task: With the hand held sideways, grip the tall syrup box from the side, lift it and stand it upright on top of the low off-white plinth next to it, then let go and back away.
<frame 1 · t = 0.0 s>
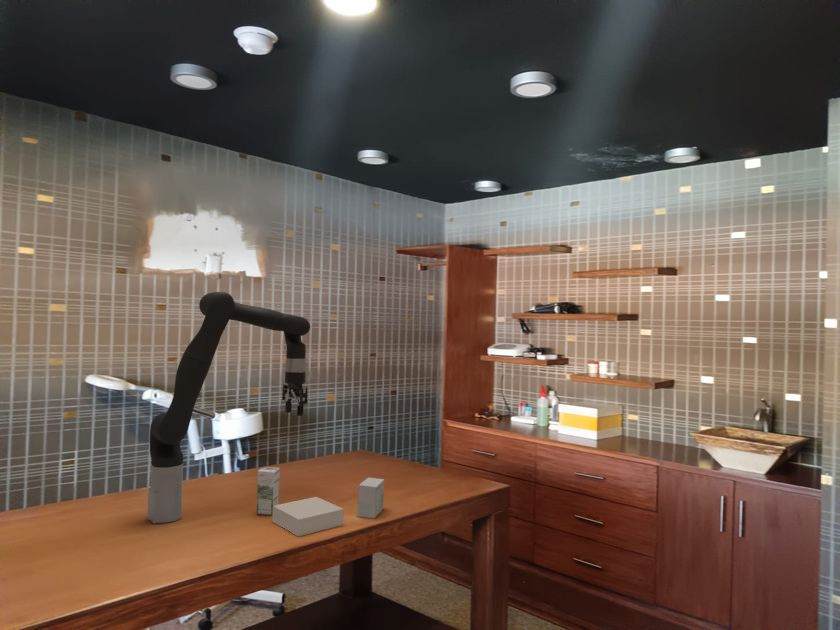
hand: (294, 414, 212), 29 cm above the table, tool pointing down, fingers open, 8 cm apart
syrup box: (267, 513, 189), on the table
plinth: (307, 523, 180), on the table
skincare box: (370, 513, 192), on the table
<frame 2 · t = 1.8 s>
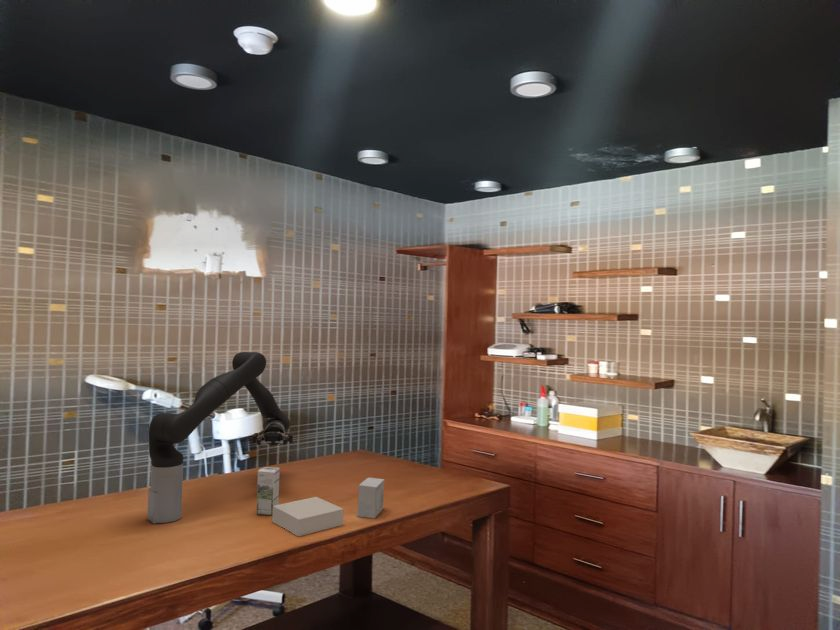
hand: (271, 442, 201), 21 cm above the table, tool horizontal, fingers open, 8 cm apart
nothing on the table moved.
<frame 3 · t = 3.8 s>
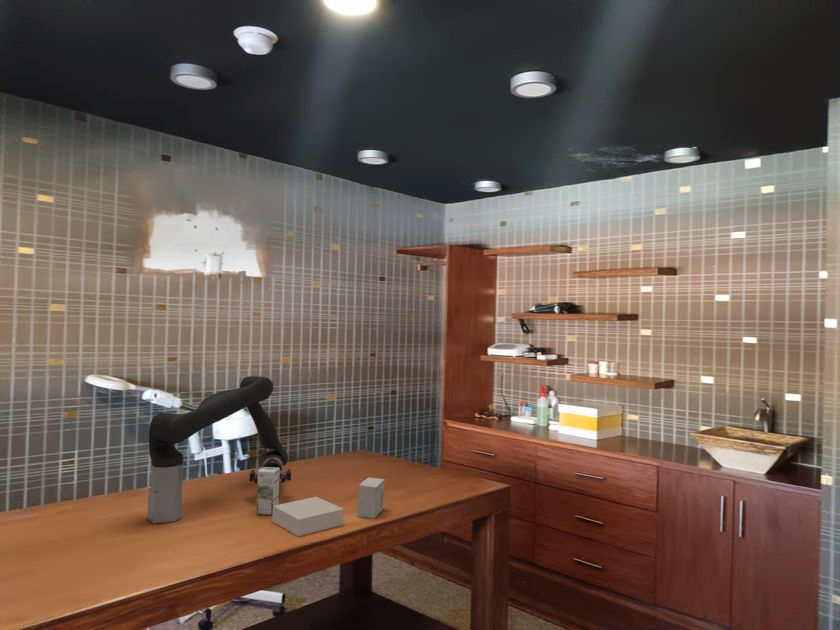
hand: (269, 480, 197), 8 cm above the table, tool horizontal, fingers open, 8 cm apart
nothing on the table moved.
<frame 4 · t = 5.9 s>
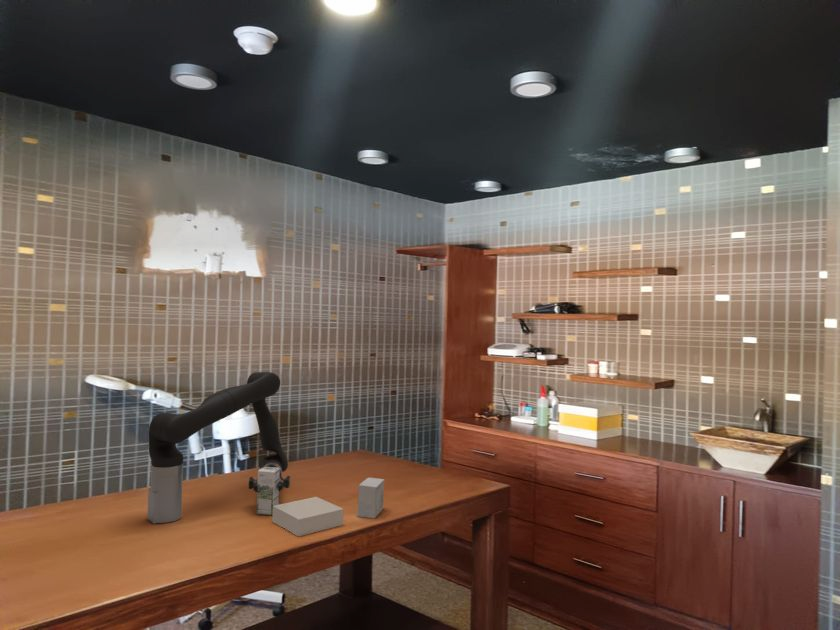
hand: (267, 488, 187), 9 cm above the table, tool horizontal, fingers closed on syrup box, 7 cm apart
syrup box: (267, 513, 189), on the table, touching gripper
everything else where it was.
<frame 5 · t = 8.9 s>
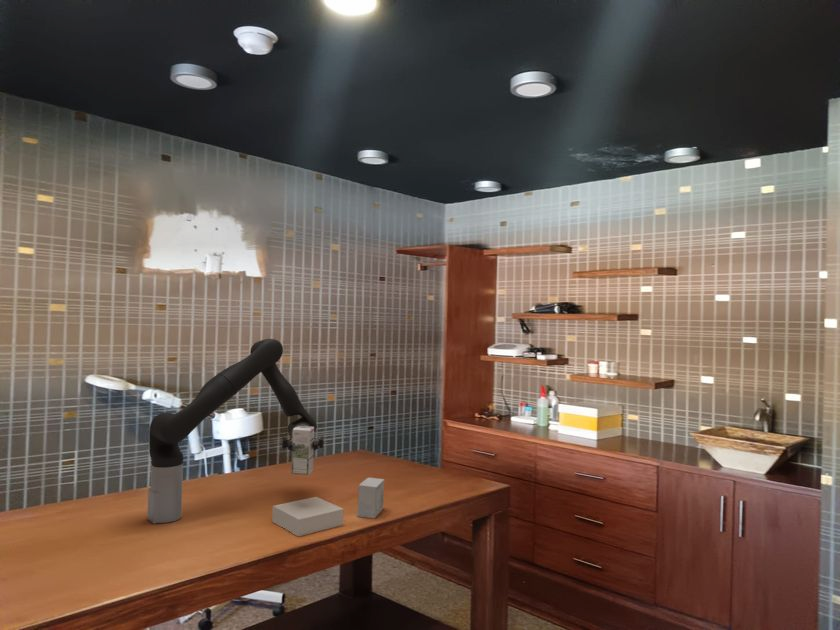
hand: (303, 447, 181), 24 cm above the table, tool horizontal, fingers closed on syrup box, 7 cm apart
syrup box: (302, 473, 183), point 15 cm above the table, touching gripper
everything else where it was.
when the fingers open (15 cm above the table, at t = 12.0 s): syrup box drops 1 cm, resting on plinth.
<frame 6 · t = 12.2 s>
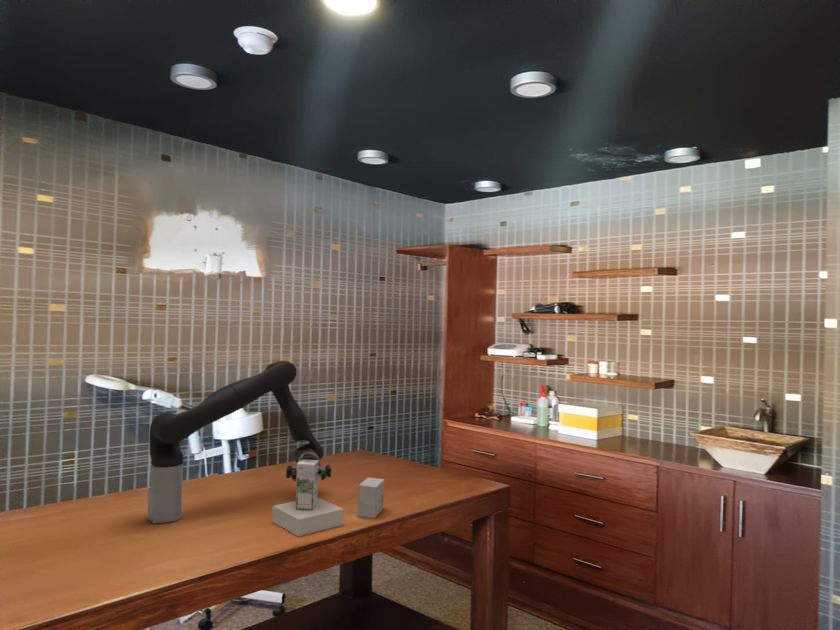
hand: (309, 477, 178), 15 cm above the table, tool horizontal, fingers open, 8 cm apart
syrup box: (306, 507, 180), point 5 cm above the table, touching plinth
everything else where it was.
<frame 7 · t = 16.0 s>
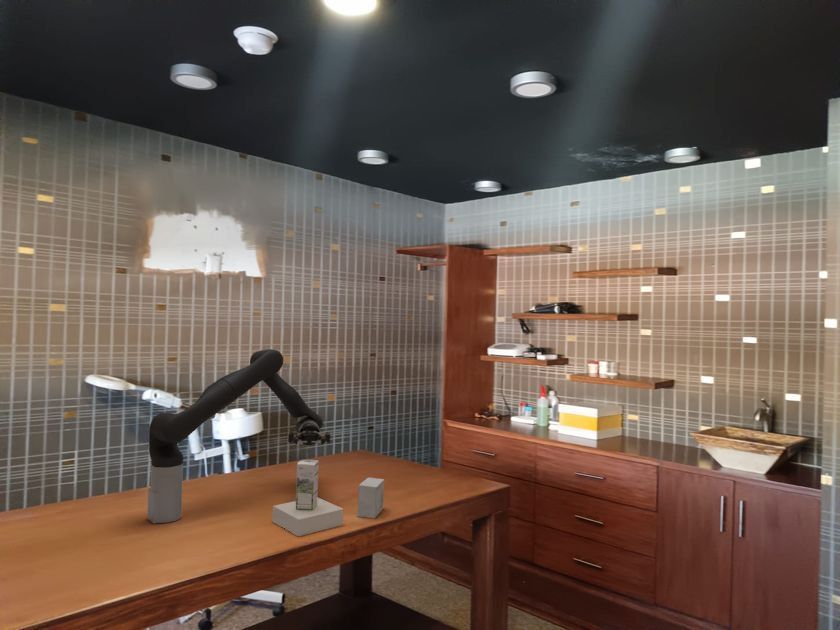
hand: (309, 441, 191), 24 cm above the table, tool horizontal, fingers open, 8 cm apart
nothing on the table moved.
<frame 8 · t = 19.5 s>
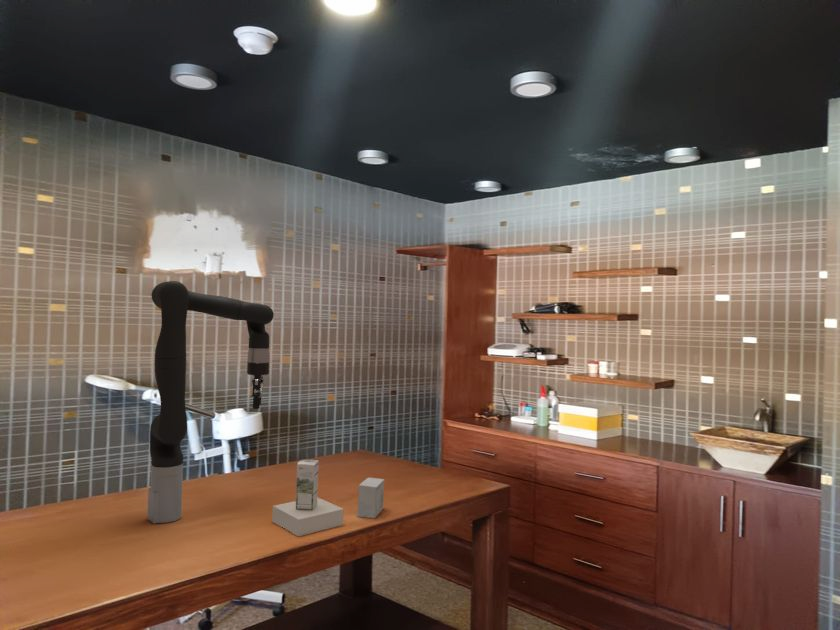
hand: (257, 406, 202), 33 cm above the table, tool pointing down, fingers open, 8 cm apart
nothing on the table moved.
at the end: syrup box inside the target area on the plinth (0.5 cm from its centre), point 4.8 cm above the plinth's base; syrup box tilted 0°; the gripper is holding nothing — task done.
